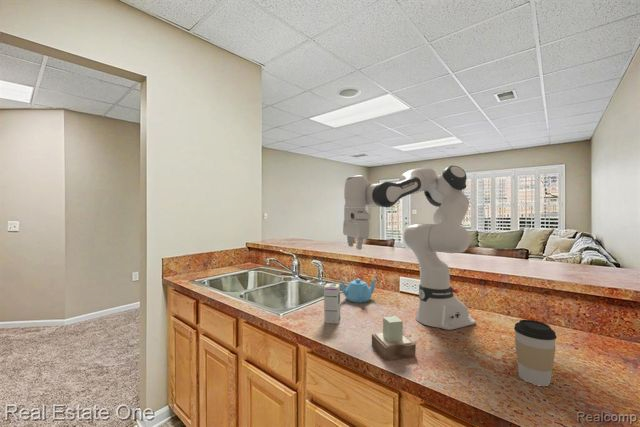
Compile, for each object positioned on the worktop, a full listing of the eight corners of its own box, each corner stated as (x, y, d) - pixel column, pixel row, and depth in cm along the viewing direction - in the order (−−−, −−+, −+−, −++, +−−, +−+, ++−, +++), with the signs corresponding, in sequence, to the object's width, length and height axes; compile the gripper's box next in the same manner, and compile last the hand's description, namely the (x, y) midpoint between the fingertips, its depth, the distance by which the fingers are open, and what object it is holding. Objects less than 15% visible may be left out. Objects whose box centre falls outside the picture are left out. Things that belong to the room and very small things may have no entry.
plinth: (399, 341, 98) (399, 329, 98) (415, 356, 88) (415, 343, 88) (371, 344, 95) (371, 332, 95) (385, 360, 86) (385, 347, 86)
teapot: (352, 293, 153) (352, 274, 153) (378, 298, 145) (378, 278, 145) (338, 300, 141) (338, 280, 141) (365, 306, 133) (365, 284, 133)
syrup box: (338, 324, 113) (338, 287, 112) (323, 322, 114) (323, 286, 114) (340, 318, 118) (340, 283, 118) (326, 317, 119) (326, 282, 119)
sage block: (395, 334, 94) (395, 316, 94) (402, 340, 90) (402, 321, 90) (382, 335, 93) (382, 317, 93) (389, 341, 89) (389, 322, 89)
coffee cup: (537, 369, 81) (537, 316, 81) (565, 389, 72) (566, 329, 72) (505, 369, 81) (506, 316, 80) (530, 390, 71) (531, 330, 71)
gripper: (339, 214, 128) (339, 245, 128) (356, 215, 108) (356, 251, 108) (352, 214, 130) (352, 244, 130) (372, 215, 110) (372, 251, 110)
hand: (354, 247), depth 119 cm, fingers open, 8 cm apart
